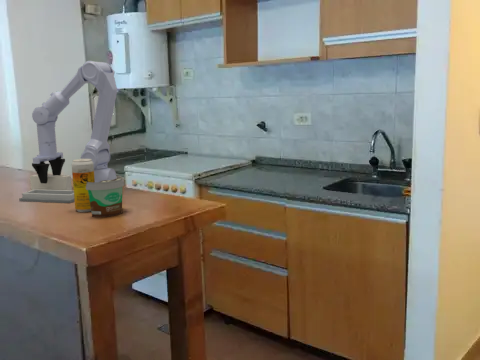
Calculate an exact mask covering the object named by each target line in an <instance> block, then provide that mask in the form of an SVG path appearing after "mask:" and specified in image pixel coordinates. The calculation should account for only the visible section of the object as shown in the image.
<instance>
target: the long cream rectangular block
mask: <svg viewBox="0 0 480 360" xmlns="http://www.w3.org/2000/svg"><path fill="white" fill-rule="evenodd" d="M29 181H30V189H31V190H34V189H39V190H70V191H73V187H72V185H73V184H72V176H71V175H69V174H67V175H64V174H63V175H62V174H61V175H53V174H48V181H47V183H46V184H45V183H41V182H40V180H39V177H38V174H33V175H30V176H29ZM31 190H30V191H31Z"/></svg>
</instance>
